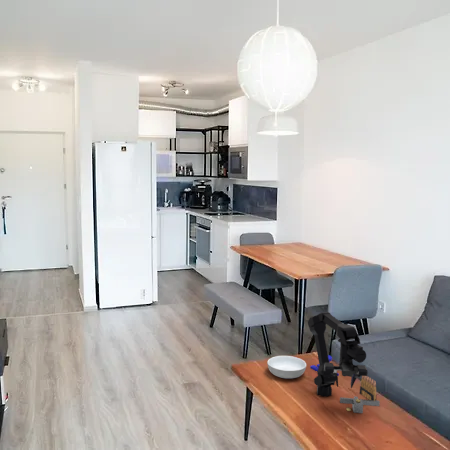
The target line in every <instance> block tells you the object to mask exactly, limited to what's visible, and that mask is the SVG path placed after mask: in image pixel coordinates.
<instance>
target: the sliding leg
mask: <svg viewBox="0 0 450 450" xmlns="http://www.w3.org/2000/svg"><path fill="white" fill-rule="evenodd" d="M353 398H354V399H353V404H351V405H352V409H351V410H352V412H353V413H358V414H363V413H364V405H363V401H362V399H363V398H359V397H358V396H356V395H355V396H354V397H353Z"/></svg>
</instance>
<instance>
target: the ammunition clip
mask: <svg viewBox="0 0 450 450" xmlns="http://www.w3.org/2000/svg"><path fill="white" fill-rule="evenodd" d="M360 381H361V382H360V386H359V394H360V395H362V396H363V397H365V399H366V400H377V383H376V380H374V379H373V378H372V377H369V375H367V376H361V380H360Z"/></svg>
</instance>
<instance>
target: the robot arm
mask: <svg viewBox="0 0 450 450" xmlns="http://www.w3.org/2000/svg"><path fill="white" fill-rule="evenodd" d="M307 325H308V329H309V331H310V332H311V334H312V335H313V337H314V338H313V339H314V342H315V343H314V344H315V347H316V348H315V349H316V352H317V359H318V364H319V368H318V371H317V376H316V377H315V378H314V379H313V382H314V383H313V384H314V385H316V395H317V396H320V397H321V398H323V397H325V398H327V397H332V396H333V388H332V386H335V385H336V387H337V388H338V387H339V376H338V374H339V373H338V371H340V372H341V376H343V377H349V378H351V380H350V389H352V388H353V387H354V385H355V383H356V381H357V380H358V378H362V376H364V377H365V376H368V373H369V372H368V369H367V367H366V365H363V364H361V363H363V362H365V360H366V359H367V353H366V351H365V350H364V348H363V346H361V344H362V343H361V339H360V337H359V334H358V332H357V329H356V327H354V326H352V325H350V324H346V323H343V322H341V321H340V320H339V319H337V318H336V317H335V316H334V315H332V314H331V312H328V311H325V312H320V313H318V314H317V315H314V316H312V317H309V318H308V320H307ZM327 326H328V327H330V328H331V329H332V330H334V331H335V332H336V335H337V337H338V338H339V339H337V342H338V343H339V344H340V346H339V361H338V362H339V364H338V365H334V363H333V362H330V363H329V358H328V355H329V353H328V348H327V343H326V338H325V333H326V330H327ZM353 361H356V362H357V363H359V364H354V363H353ZM335 383H336V384H335Z"/></svg>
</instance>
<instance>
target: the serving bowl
mask: <svg viewBox="0 0 450 450" xmlns="http://www.w3.org/2000/svg"><path fill="white" fill-rule="evenodd" d="M306 368H307V363H306V361H305V360H303V359H302V358H299V357H296V356H292V355H276V356H273V357H270V358H269V359H268V360H267V369H268V370H269V371H270V373H271V374H272V375H274V376H276V377H278V378H282V379H288V380H289V379H296V378H299V377H301V376H302V375H304V373H305V371H306Z"/></svg>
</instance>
